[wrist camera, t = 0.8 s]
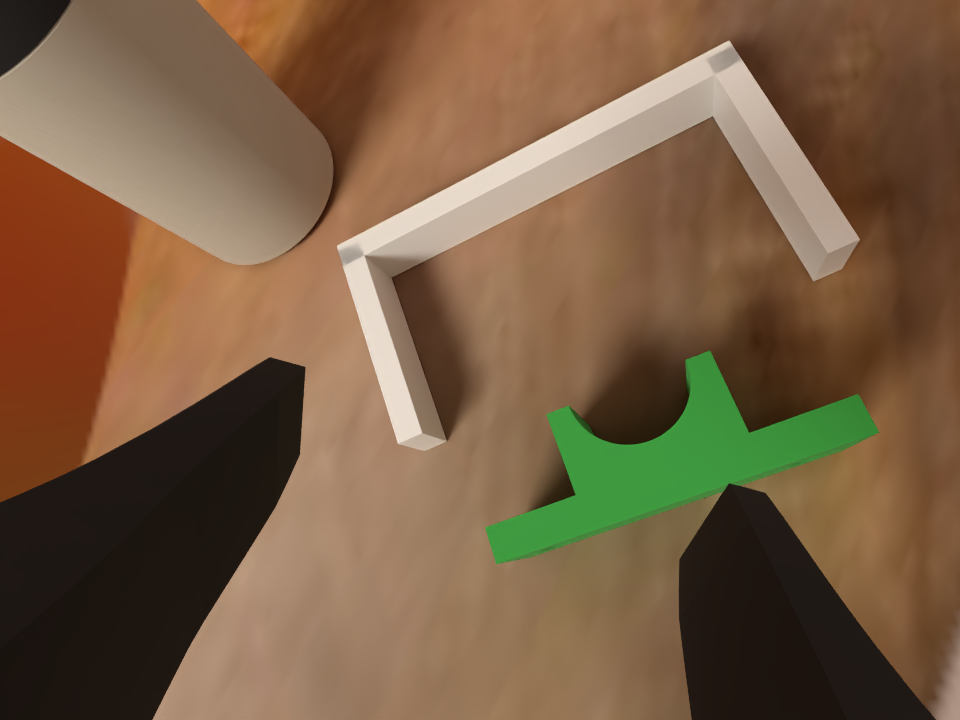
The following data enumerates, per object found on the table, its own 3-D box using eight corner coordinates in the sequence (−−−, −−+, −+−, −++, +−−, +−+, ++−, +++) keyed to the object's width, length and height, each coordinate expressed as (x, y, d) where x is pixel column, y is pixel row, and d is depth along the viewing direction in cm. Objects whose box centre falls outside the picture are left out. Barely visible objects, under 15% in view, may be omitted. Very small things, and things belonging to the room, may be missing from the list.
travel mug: (347, 236, 29) (-119, -152, 12) (204, 288, 31) (-367, 14, 14) (327, 96, 31) (-85, -385, 15) (195, 153, 33) (-300, -217, 17)
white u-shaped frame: (841, 269, 22) (860, 238, 20) (424, 450, 25) (398, 443, 23) (725, 85, 25) (729, 40, 23) (365, 268, 28) (336, 245, 26)
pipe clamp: (789, 351, 22) (814, 309, 18) (841, 451, 21) (882, 432, 17) (498, 461, 24) (458, 446, 20) (530, 558, 23) (495, 565, 19)
